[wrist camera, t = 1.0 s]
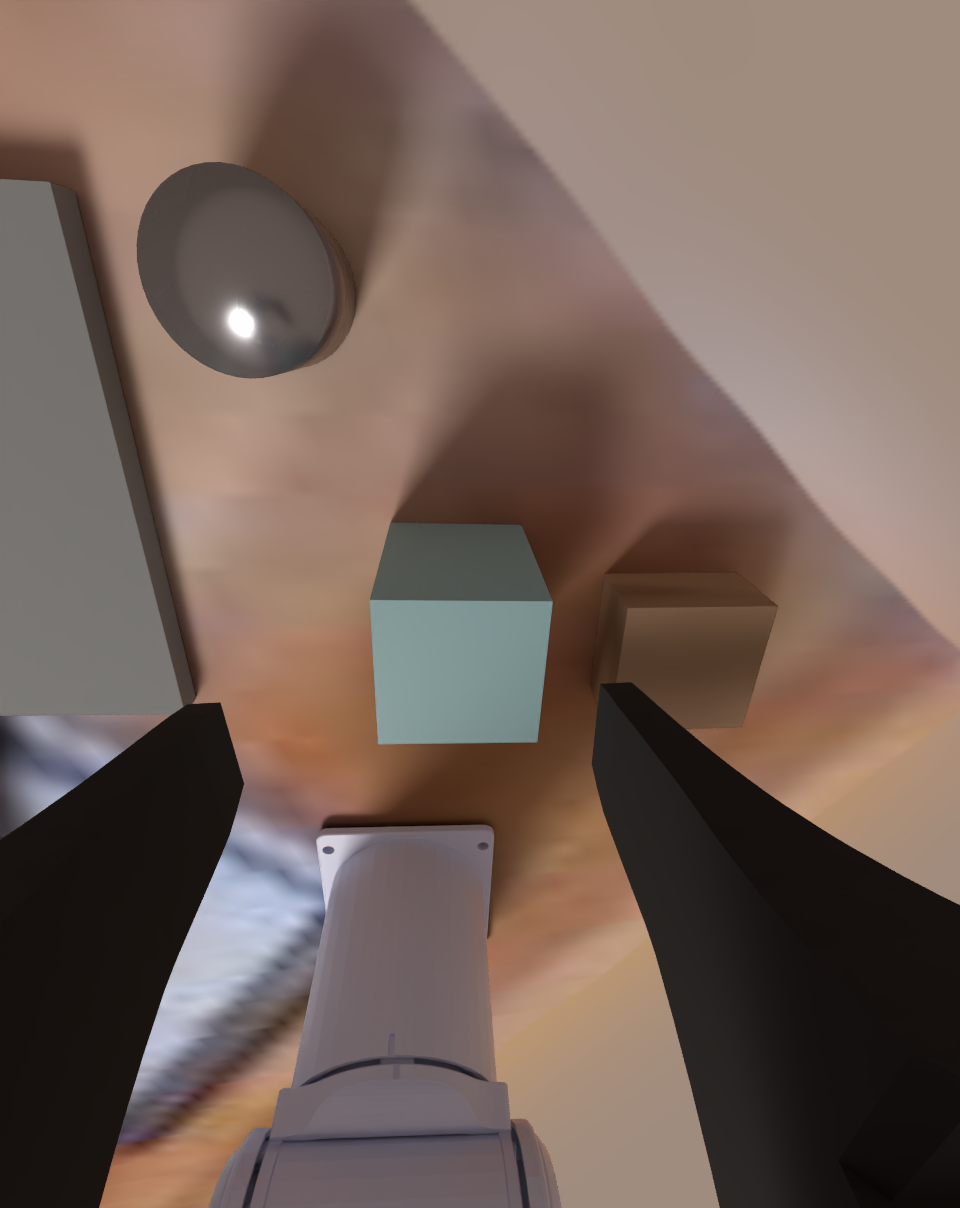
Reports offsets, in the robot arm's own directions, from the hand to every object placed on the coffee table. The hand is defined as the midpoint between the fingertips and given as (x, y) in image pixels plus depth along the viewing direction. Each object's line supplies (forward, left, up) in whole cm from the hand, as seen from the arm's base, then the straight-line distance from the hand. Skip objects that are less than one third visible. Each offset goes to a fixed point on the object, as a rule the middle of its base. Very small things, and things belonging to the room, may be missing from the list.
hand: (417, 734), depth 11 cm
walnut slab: (-3, -9, -10) cm, 14 cm away
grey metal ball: (+8, +4, -10) cm, 13 cm away
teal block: (-1, -1, -10) cm, 10 cm away
